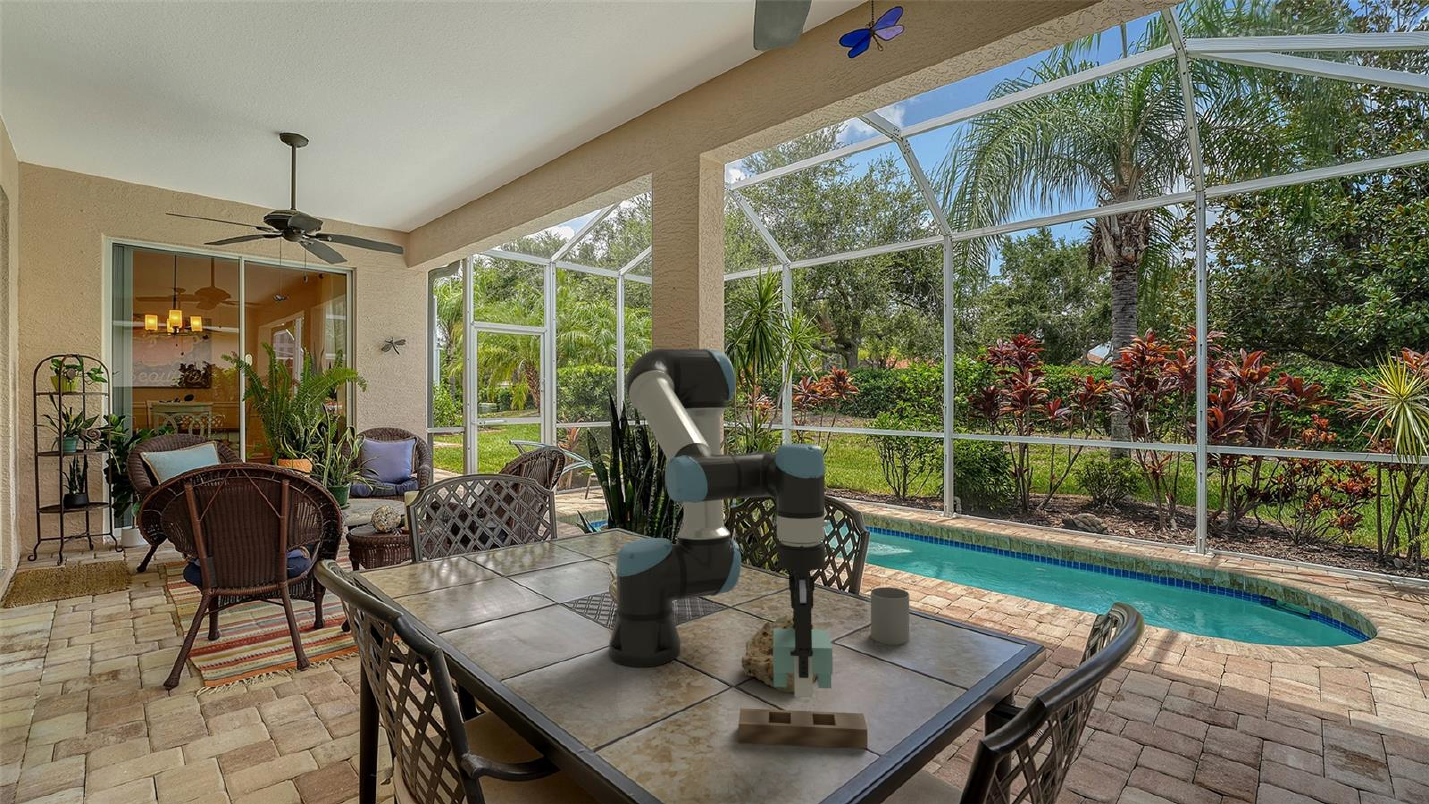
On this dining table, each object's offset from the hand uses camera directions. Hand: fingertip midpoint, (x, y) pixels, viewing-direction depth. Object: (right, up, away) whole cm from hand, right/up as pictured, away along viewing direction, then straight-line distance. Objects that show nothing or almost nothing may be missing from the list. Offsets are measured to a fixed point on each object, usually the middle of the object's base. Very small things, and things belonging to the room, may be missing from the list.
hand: (802, 683), depth 104 cm
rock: (0, -9, +26) cm, 28 cm away
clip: (0, 0, 0) cm, 0 cm away
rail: (0, -9, 0) cm, 9 cm away
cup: (+25, -8, +42) cm, 50 cm away
